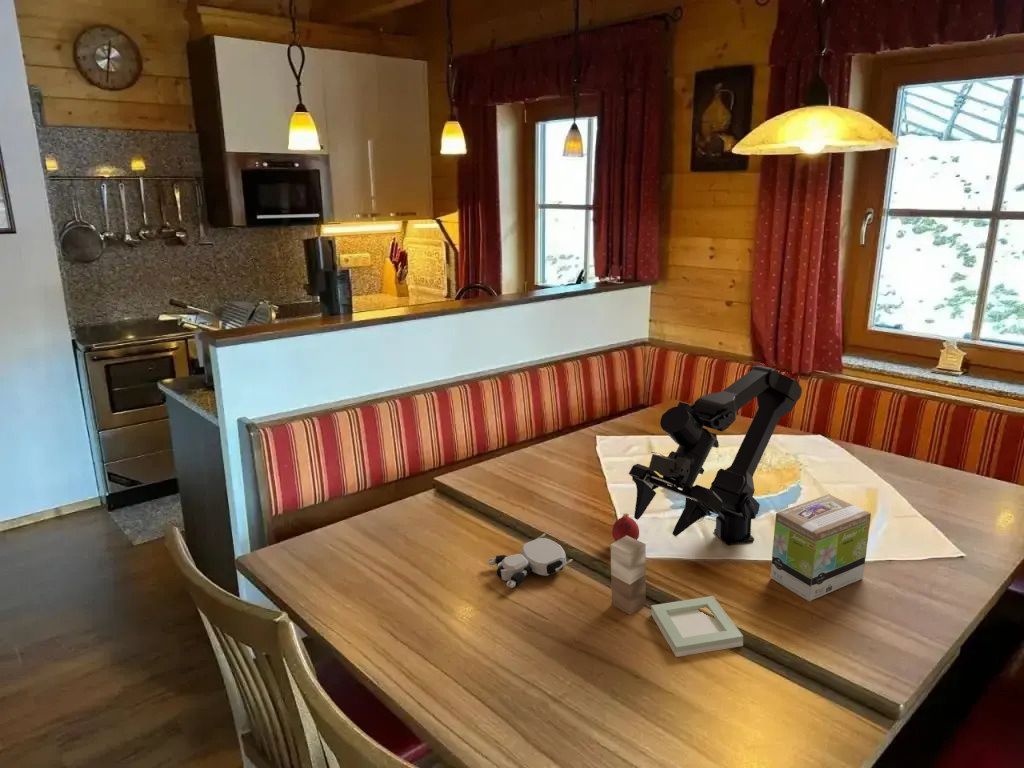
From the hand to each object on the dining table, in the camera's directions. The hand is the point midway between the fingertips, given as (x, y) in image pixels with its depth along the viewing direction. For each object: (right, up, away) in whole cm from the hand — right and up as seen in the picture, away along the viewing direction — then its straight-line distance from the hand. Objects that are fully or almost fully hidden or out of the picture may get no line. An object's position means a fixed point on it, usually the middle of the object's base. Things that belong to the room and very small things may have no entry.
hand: (654, 526), depth 135 cm
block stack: (-5, -15, -1) cm, 15 cm away
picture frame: (+5, -17, -9) cm, 20 cm away
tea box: (+32, -11, +4) cm, 35 cm away
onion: (-2, -8, +19) cm, 21 cm away
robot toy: (-23, -12, +12) cm, 29 cm away
